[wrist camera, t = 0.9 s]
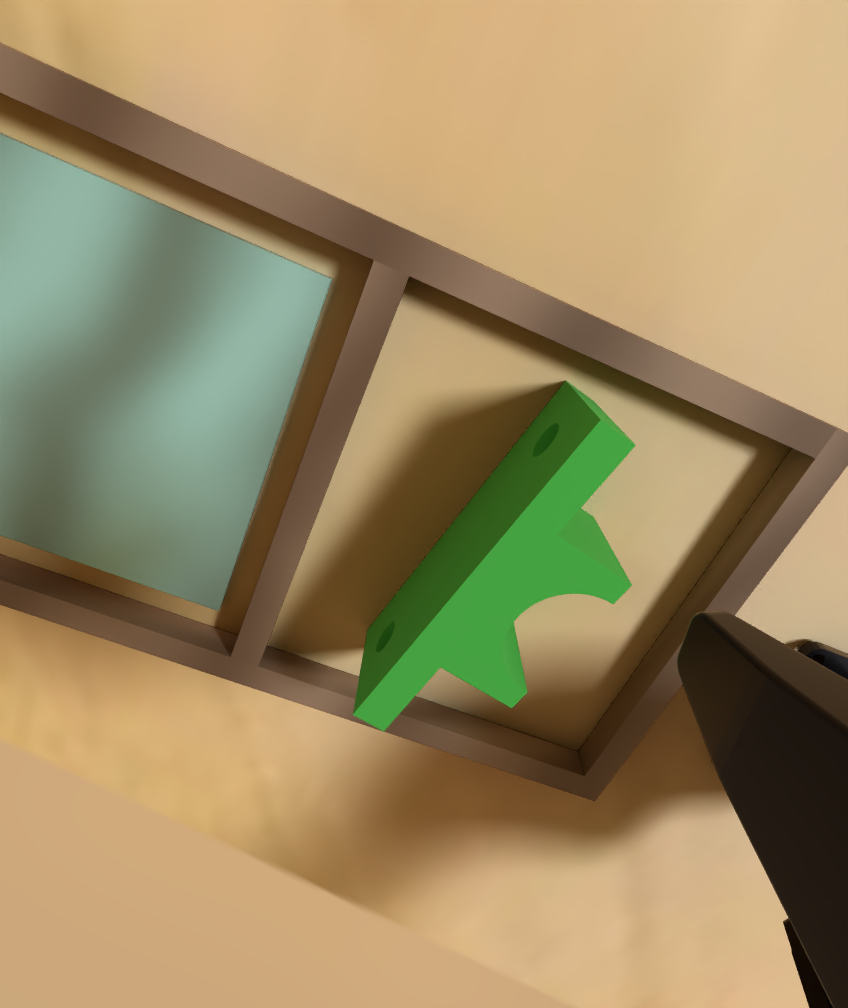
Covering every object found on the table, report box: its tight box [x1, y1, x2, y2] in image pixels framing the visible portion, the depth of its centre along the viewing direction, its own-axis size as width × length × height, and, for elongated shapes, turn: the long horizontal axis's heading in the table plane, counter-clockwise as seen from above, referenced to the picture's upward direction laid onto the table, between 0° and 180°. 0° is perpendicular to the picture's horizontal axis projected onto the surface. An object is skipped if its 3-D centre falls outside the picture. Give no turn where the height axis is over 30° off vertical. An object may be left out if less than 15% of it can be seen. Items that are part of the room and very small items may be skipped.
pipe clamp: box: [353, 381, 636, 731], centre depth 19 cm, size 11×4×5 cm, turn 145°
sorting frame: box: [0, 43, 848, 801], centre depth 19 cm, size 29×16×1 cm, turn 67°
